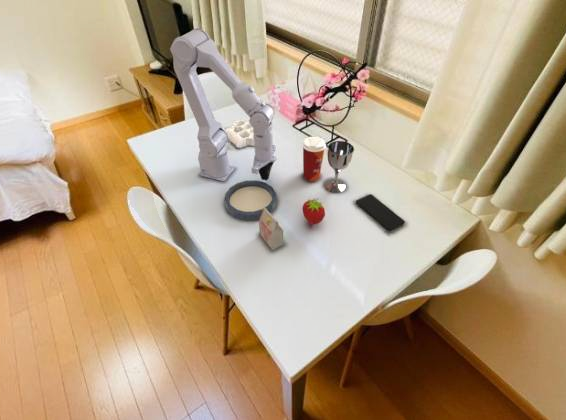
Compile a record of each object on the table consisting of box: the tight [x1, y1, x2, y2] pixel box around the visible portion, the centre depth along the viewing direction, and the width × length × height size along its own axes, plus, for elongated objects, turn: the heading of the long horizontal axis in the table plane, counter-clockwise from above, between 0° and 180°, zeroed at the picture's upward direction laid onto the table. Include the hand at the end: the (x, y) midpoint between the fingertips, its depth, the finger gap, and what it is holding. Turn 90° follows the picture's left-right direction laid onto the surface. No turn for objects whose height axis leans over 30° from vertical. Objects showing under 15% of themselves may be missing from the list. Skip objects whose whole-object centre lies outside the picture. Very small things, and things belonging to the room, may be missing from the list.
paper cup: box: [301, 136, 327, 182], centre depth 102 cm, size 8×8×14 cm
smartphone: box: [355, 194, 406, 232], centre depth 94 cm, size 7×1×15 cm
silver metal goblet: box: [324, 140, 355, 194], centre depth 98 cm, size 8×8×15 cm
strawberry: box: [301, 198, 326, 226], centre depth 87 cm, size 6×8×10 cm
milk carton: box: [258, 207, 284, 251], centre depth 82 cm, size 4×7×10 cm, turn 33°
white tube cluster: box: [224, 119, 254, 149], centre depth 124 cm, size 3×18×15 cm
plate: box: [223, 179, 277, 221], centre depth 96 cm, size 16×16×3 cm
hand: (265, 178), depth 104 cm, fingers closed
